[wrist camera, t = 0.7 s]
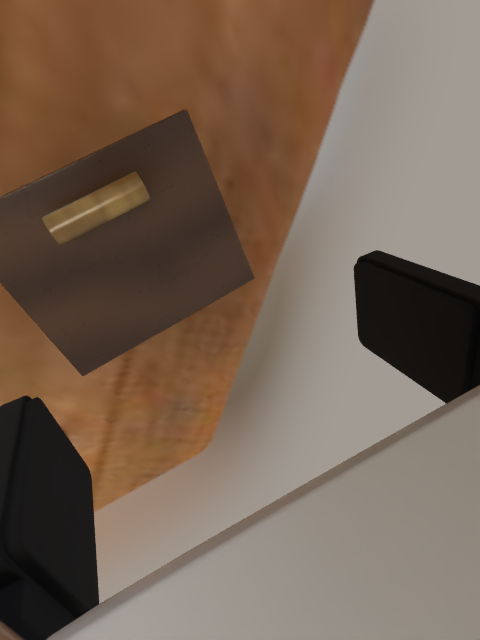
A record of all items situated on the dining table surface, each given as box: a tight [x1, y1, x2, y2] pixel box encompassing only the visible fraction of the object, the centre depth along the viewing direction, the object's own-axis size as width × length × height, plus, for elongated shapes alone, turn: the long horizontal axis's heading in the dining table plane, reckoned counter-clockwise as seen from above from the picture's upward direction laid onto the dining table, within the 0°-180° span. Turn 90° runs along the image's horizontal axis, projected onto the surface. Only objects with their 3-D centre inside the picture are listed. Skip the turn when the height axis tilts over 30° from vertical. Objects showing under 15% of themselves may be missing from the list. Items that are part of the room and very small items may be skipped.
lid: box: [0, 109, 254, 376], centre depth 25 cm, size 14×17×5 cm
